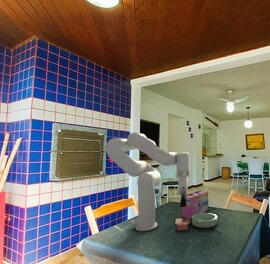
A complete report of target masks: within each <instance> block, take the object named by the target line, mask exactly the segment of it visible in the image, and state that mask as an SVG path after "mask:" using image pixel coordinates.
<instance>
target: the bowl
mask: <svg viewBox="0 0 270 264" xmlns="http://www.w3.org/2000/svg"><path fill="white" fill-rule="evenodd" d="M217 224H218V216H217V215H216V214H214V213H211V212H203V213H198V214H194V215H193V216H192V219H191V225H192V226H193V227H196V228H197V227H198V228H201V229H202V228H204V229H205V228H207V229H208V228H211V227H214V226H216V225H217Z"/></svg>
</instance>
